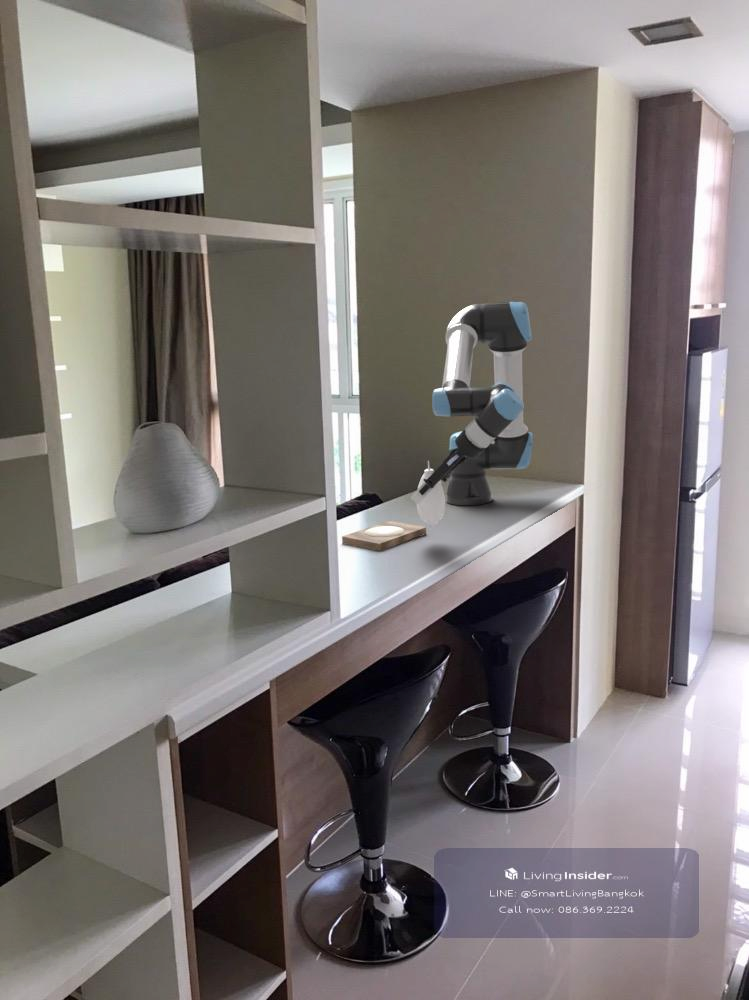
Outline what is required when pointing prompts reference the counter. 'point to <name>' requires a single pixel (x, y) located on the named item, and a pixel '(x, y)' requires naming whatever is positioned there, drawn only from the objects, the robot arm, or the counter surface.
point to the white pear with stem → (431, 501)
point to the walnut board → (383, 535)
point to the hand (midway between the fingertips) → (418, 497)
